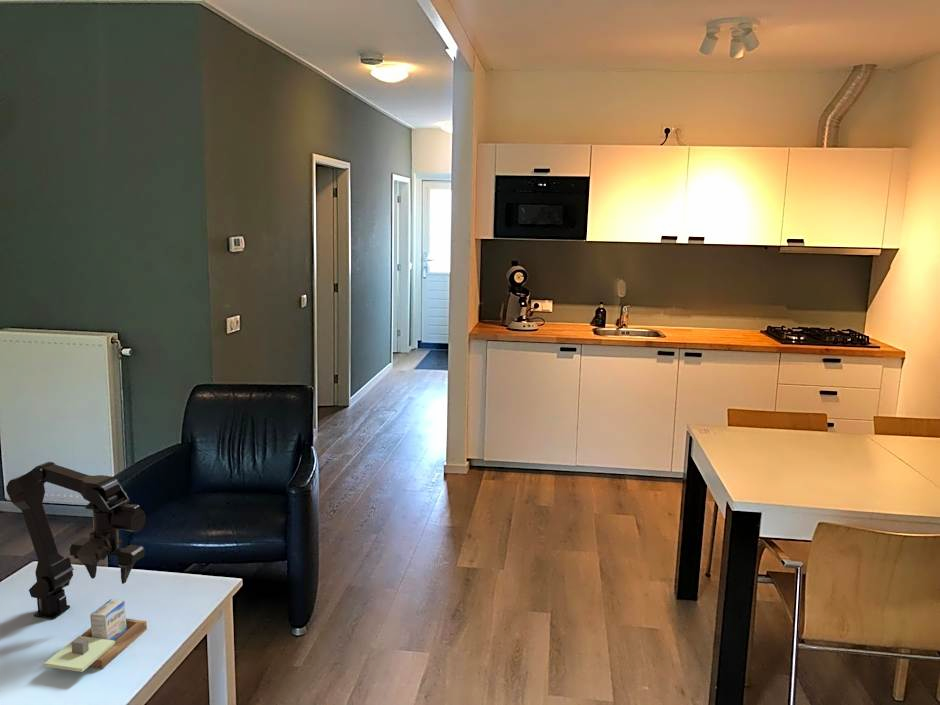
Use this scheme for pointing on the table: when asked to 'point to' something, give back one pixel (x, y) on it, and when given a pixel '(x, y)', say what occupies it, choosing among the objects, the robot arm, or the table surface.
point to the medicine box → (109, 620)
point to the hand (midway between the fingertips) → (108, 580)
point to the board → (119, 642)
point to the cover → (80, 653)
